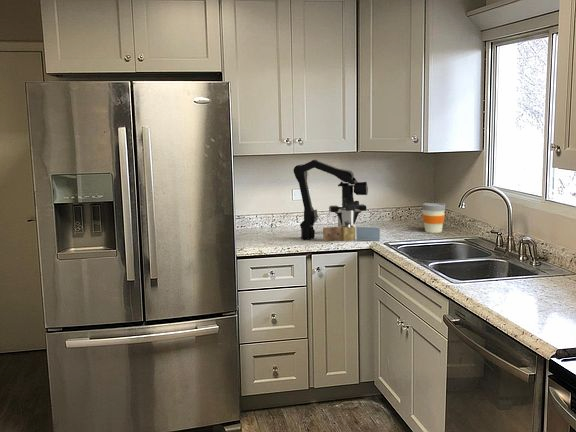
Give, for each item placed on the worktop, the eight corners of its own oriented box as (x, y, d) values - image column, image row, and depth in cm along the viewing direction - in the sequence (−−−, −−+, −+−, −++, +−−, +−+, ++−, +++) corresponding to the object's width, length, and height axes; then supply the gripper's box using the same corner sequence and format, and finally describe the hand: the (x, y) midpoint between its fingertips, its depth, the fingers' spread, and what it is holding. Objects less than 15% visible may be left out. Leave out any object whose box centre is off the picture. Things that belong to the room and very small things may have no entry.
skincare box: (337, 234, 339) (336, 206, 336) (342, 232, 345) (341, 205, 342) (351, 235, 335) (351, 207, 333) (356, 233, 341) (355, 205, 338)
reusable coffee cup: (440, 233, 333) (440, 206, 331) (418, 232, 340) (418, 205, 338) (448, 230, 344) (448, 203, 341) (426, 228, 351) (427, 202, 348)
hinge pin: (345, 240, 322) (345, 222, 320) (343, 239, 325) (343, 221, 324) (352, 240, 322) (352, 222, 321) (350, 239, 326) (350, 220, 324)
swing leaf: (356, 239, 322) (356, 227, 321) (356, 239, 323) (356, 226, 322) (379, 240, 318) (379, 227, 317) (379, 240, 319) (379, 227, 318)
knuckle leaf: (324, 242, 319) (324, 228, 318) (322, 239, 325) (322, 226, 324) (355, 240, 321) (354, 227, 320) (352, 238, 327) (352, 225, 326)
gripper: (333, 197, 311) (333, 228, 313) (369, 195, 313) (369, 226, 316) (328, 194, 322) (329, 224, 324) (363, 193, 324) (363, 222, 327)
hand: (347, 224), depth 322 cm, fingers open, 6 cm apart
